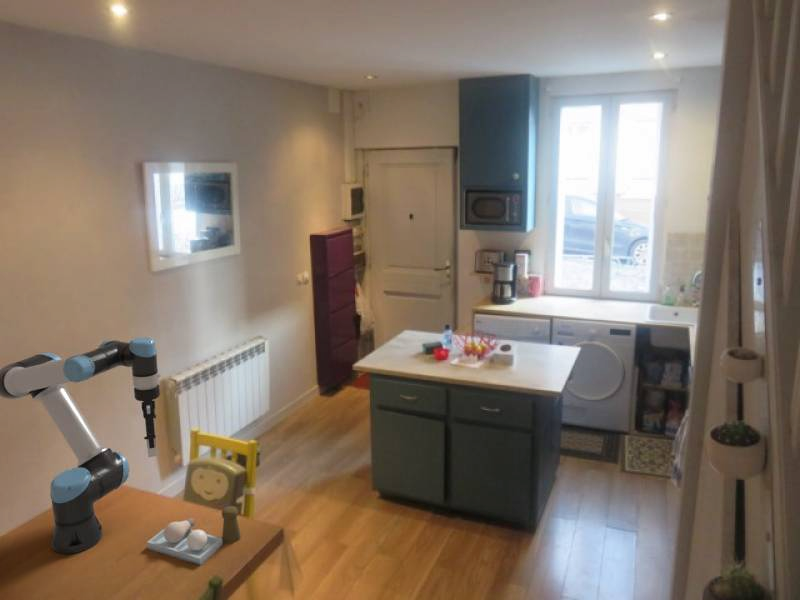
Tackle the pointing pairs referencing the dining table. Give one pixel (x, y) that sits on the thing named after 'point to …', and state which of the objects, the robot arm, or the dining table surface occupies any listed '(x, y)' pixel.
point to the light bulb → (177, 530)
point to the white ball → (197, 540)
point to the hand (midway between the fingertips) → (152, 446)
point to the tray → (185, 547)
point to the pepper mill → (230, 525)
